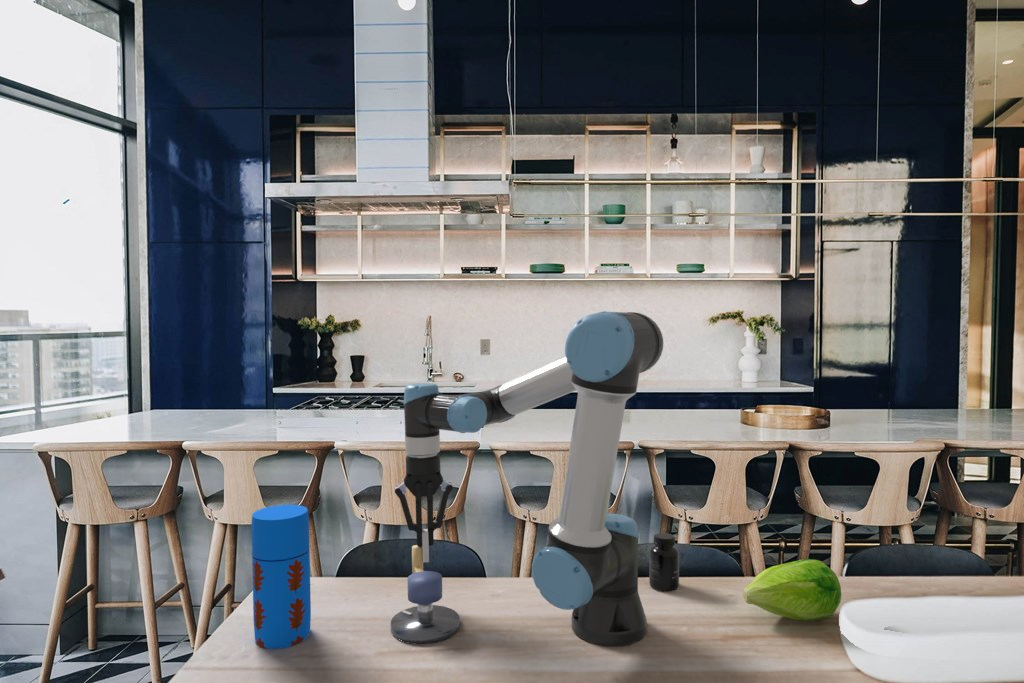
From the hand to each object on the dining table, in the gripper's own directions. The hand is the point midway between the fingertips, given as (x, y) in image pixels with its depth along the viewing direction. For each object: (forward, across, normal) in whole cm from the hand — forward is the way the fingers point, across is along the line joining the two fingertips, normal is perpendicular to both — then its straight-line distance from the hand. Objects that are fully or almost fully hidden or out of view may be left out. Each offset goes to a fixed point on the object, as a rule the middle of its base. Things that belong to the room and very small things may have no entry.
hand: (425, 559), depth 145 cm
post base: (+10, +1, +11) cm, 15 cm away
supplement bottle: (+11, -55, +2) cm, 56 cm away
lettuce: (+11, -74, +23) cm, 78 cm away
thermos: (+10, +29, +9) cm, 32 cm away
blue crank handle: (+4, +1, +7) cm, 8 cm away
